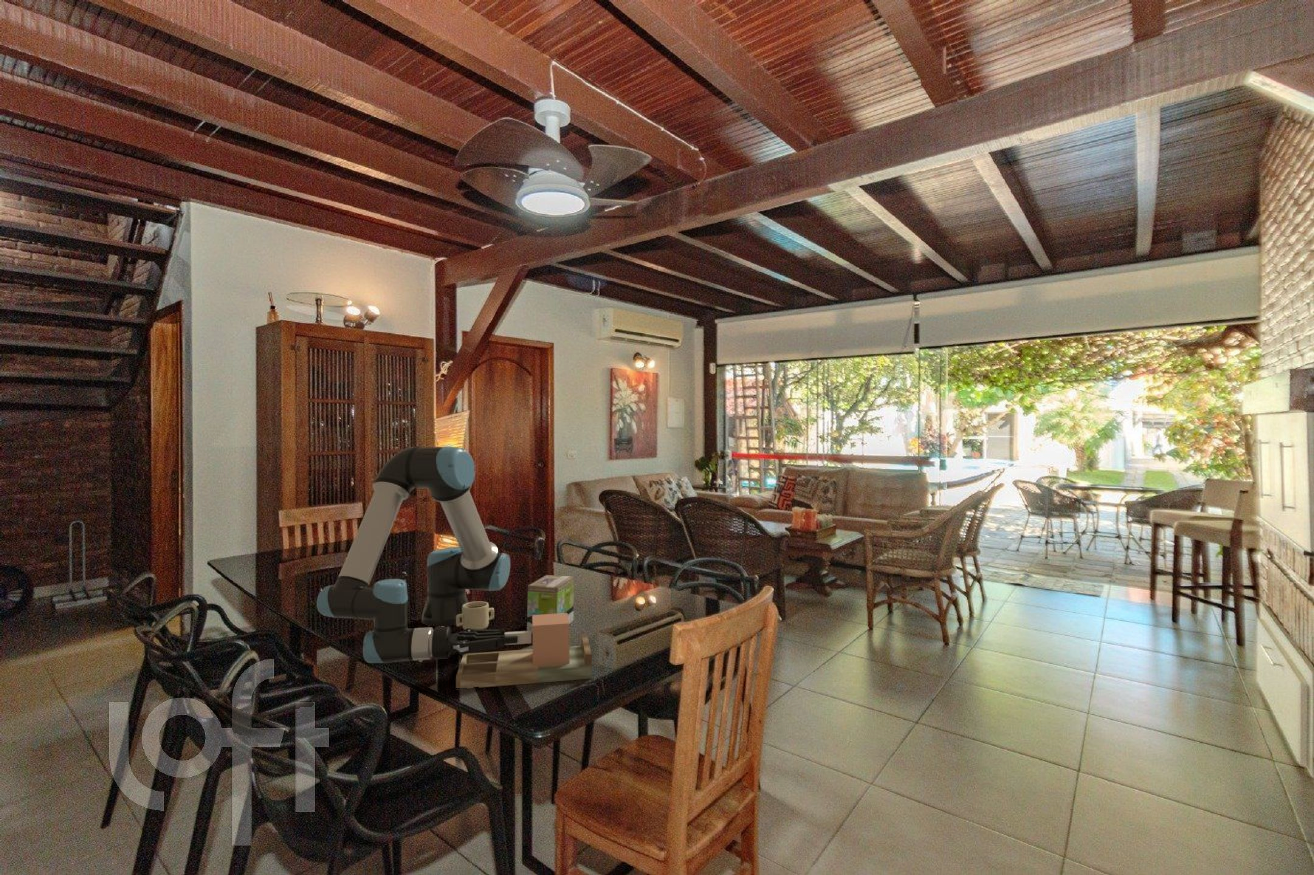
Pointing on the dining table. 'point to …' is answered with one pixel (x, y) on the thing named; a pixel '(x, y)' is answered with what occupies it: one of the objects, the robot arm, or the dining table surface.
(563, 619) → the terracotta block
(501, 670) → the trap deck
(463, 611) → the character mug
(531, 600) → the tea box
